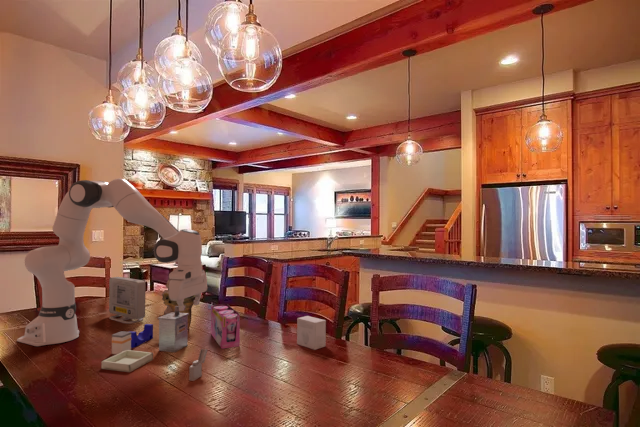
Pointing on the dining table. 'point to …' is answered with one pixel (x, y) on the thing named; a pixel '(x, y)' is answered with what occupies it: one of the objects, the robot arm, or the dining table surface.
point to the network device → (127, 299)
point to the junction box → (173, 331)
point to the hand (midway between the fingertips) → (189, 307)
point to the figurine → (168, 309)
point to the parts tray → (127, 360)
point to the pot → (187, 302)
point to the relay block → (121, 342)
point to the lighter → (197, 366)
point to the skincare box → (311, 332)
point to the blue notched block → (142, 335)
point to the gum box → (225, 325)
